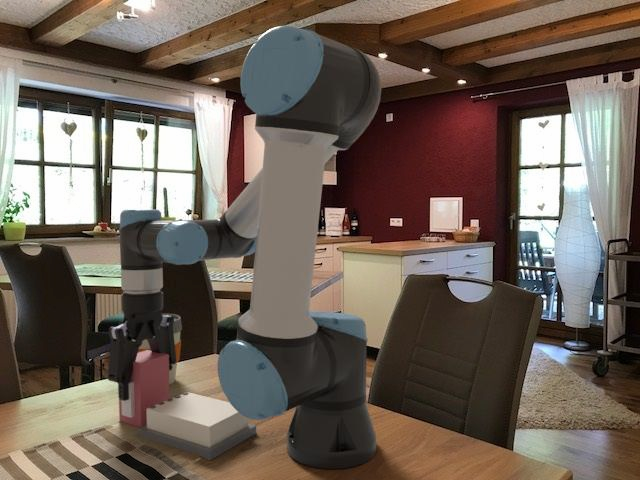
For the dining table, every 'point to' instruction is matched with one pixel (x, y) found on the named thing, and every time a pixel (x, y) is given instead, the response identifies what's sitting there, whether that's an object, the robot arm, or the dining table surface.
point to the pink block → (148, 385)
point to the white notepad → (197, 425)
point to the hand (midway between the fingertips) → (144, 408)
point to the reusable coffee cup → (176, 331)
